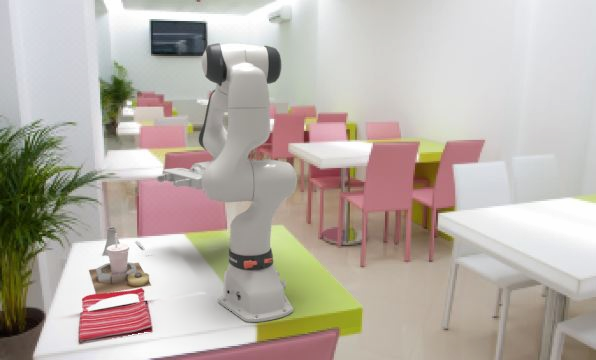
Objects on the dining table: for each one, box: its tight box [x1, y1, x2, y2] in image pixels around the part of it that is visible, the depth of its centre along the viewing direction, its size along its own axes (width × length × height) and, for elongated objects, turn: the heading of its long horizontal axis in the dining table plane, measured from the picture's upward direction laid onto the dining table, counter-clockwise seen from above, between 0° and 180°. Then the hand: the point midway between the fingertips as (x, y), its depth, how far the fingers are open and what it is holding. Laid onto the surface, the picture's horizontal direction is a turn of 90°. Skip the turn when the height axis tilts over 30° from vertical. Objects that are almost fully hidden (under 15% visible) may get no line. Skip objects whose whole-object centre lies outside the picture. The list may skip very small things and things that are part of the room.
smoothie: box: [107, 232, 130, 275], centre depth 151 cm, size 6×6×14 cm
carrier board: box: [88, 262, 152, 294], centre depth 153 cm, size 20×15×4 cm
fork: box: [134, 240, 152, 257], centre depth 181 cm, size 3×24×2 cm, turn 30°
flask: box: [102, 226, 121, 257], centre depth 173 cm, size 7×7×10 cm
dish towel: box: [78, 287, 153, 344], centre depth 131 cm, size 17×24×3 cm
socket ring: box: [95, 261, 137, 284], centre depth 153 cm, size 11×11×2 cm
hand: (166, 181), depth 161 cm, fingers open, 8 cm apart
